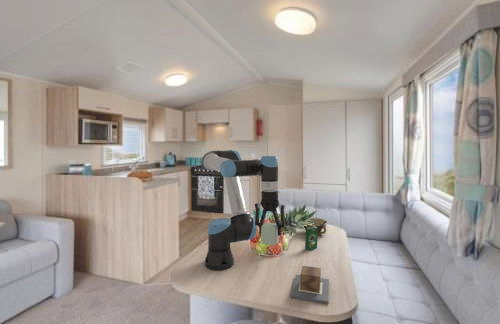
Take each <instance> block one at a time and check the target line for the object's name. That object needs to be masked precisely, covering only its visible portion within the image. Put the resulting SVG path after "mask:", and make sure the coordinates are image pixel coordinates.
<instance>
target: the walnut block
mask: <svg viewBox="0 0 500 324" xmlns="http://www.w3.org/2000/svg"><path fill="white" fill-rule="evenodd" d="M321 270H322V268H321V267H314V266H307V265H302V266H301V271H300V275H301V277H300V290H305V291H311V292H317V293H320V278H322V277H321V273H322V271H321Z"/></svg>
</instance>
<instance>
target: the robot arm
mask: <svg viewBox="0 0 500 324" xmlns="http://www.w3.org/2000/svg"><path fill="white" fill-rule="evenodd" d="M278 159H279V158H278V157H277V155H262V156H260V159H258V158H257V159H243V160H242V156H241V154H240V152H239V151H237V150H232V149H229V150H211V151H210V150H209V151H208V152H206V153H205V154H203V156H202V158H201V165H202V167H203V168H204V169H206V170H208V171H215V172H219V173H220V174H221V177H223V178H224V181H225V187H226V191H227V197H228V200H229V201H228V203H229V207H230V211H231V216H230V217H229V218H228V217H220V218H216V219H215V218H214V219H213V220H211V221H210V222H209V223H208V226H207V247H208V248H207V253H206V256H205V259H204V266H205V267H206V268H207V269H209V270H212V271H224V270H228V269H229V268H232V267H233V266H234V265H235V264H234V262H235V261H234V260H235V259H234V256H233V253H232V250H231V244H234V243H239V242H245V241H249V240H253V239H254V238H255V237H256V235H257V233H259V235H261V236H260V237H261V238H260V239H261V243H262V225H263V224H264V223H265V218H266V215H267V213H268V212H270V213H272V216H273V218H274V221H275V223H276V225H277V228H276V245H277V244H279V242H280V236H281V234H282V229H284V228H285V227H286V216H285V215H286V214H285V208H286V204H283V203H282V204H281V203H280V201H279V191H278V190H279V162H278V161H279V160H278ZM254 176H255V177H256V176H260V180H261V181H260V187H261V188H260V189H261V191H260V192H261V193H260V194H261V195H260V196H261V197H260V198H261V199H260V202H256V203H254V208H255V216H251V213H250V212H248V211H247V210H248V209H247V206H246V201H245V197H244V192H243V187H242V183H241V179H240V177H254ZM278 207H279V210H280V218H279V213H278ZM261 208H262V214H260V213H261ZM260 215H261V217H260Z"/></svg>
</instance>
